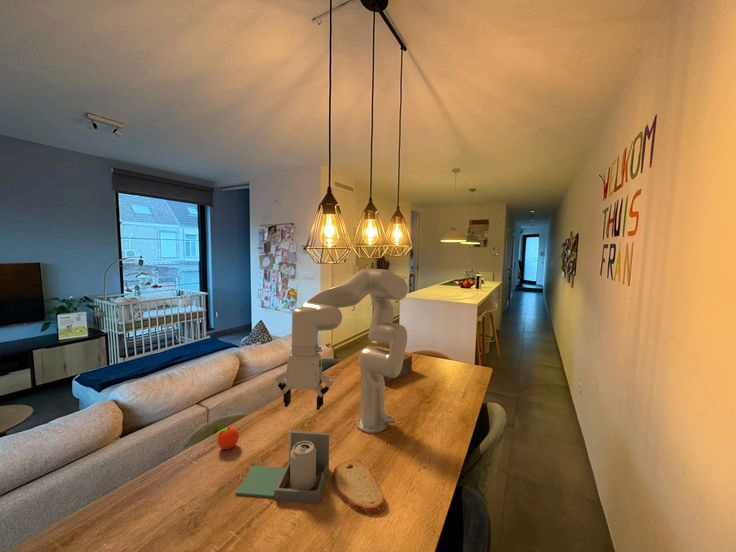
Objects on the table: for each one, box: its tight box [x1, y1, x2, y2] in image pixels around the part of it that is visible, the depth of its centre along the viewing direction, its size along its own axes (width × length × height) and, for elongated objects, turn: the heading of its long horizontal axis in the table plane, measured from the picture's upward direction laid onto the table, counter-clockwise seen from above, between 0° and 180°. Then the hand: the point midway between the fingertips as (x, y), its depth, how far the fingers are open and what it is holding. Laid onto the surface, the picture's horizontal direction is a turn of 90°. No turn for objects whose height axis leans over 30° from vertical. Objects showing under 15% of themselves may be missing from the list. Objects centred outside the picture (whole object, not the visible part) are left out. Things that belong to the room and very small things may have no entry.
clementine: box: [213, 426, 240, 450], centre depth 106 cm, size 8×7×7 cm
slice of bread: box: [331, 458, 387, 516], centre depth 90 cm, size 18×18×4 cm
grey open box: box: [274, 429, 330, 505], centre depth 90 cm, size 13×14×13 cm
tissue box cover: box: [383, 353, 413, 384], centre depth 174 cm, size 26×14×10 cm, turn 133°
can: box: [289, 441, 317, 491], centre depth 90 cm, size 8×8×12 cm
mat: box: [235, 465, 286, 499], centre depth 91 cm, size 11×11×1 cm
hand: (303, 406), depth 90 cm, fingers open, 9 cm apart
